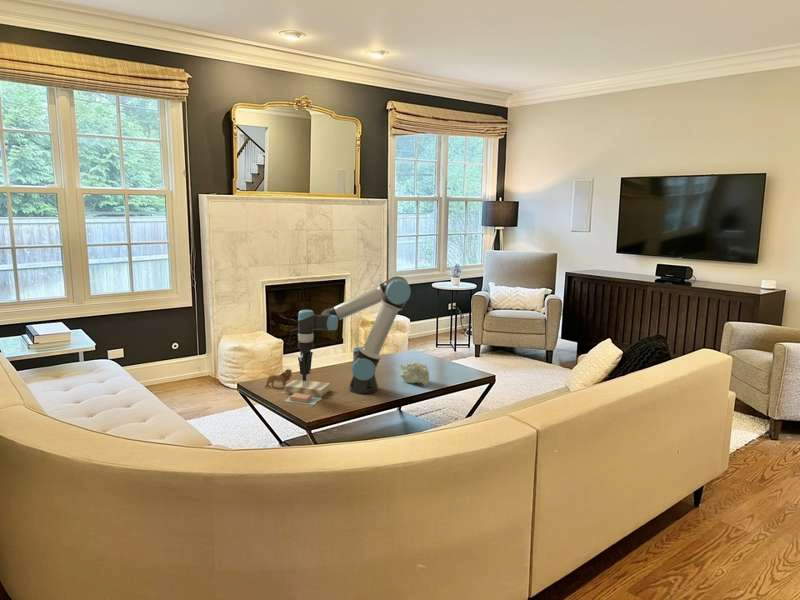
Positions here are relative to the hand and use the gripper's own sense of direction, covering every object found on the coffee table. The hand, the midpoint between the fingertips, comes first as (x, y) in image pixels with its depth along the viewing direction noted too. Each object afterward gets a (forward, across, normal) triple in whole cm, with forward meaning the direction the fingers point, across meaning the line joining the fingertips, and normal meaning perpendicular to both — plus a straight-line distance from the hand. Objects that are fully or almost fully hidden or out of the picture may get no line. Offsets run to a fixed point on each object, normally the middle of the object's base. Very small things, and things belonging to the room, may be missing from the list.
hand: (305, 386), depth 293 cm
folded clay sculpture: (+6, -42, +47) cm, 63 cm away
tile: (+3, +6, 0) cm, 6 cm away
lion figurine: (+6, -11, -20) cm, 24 cm away
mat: (+6, +5, +1) cm, 7 cm away
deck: (+6, -7, -2) cm, 9 cm away
